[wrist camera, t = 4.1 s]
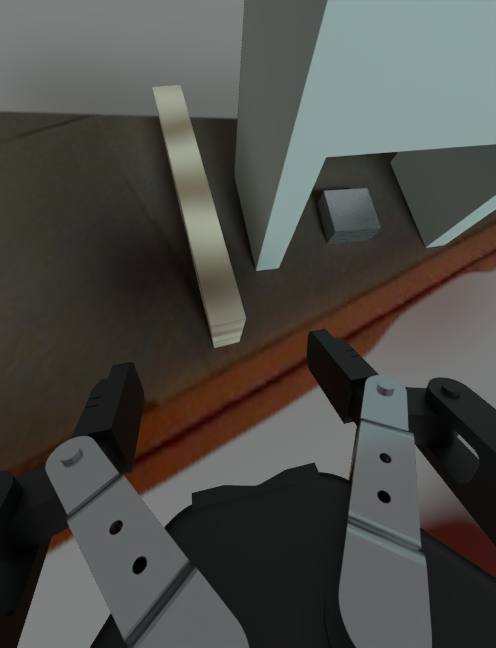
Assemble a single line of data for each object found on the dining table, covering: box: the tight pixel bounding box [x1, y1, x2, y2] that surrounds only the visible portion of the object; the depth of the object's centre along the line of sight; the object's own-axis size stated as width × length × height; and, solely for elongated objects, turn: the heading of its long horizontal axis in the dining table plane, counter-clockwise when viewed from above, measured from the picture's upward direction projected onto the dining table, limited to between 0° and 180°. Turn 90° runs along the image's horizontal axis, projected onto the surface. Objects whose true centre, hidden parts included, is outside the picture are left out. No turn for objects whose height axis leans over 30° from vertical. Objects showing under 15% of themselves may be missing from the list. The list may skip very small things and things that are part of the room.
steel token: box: [317, 188, 381, 243], centre depth 29 cm, size 5×5×2 cm
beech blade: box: [153, 85, 246, 348], centre depth 24 cm, size 22×2×8 cm, turn 15°
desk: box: [234, 0, 496, 271], centre depth 20 cm, size 13×22×21 cm, turn 101°
